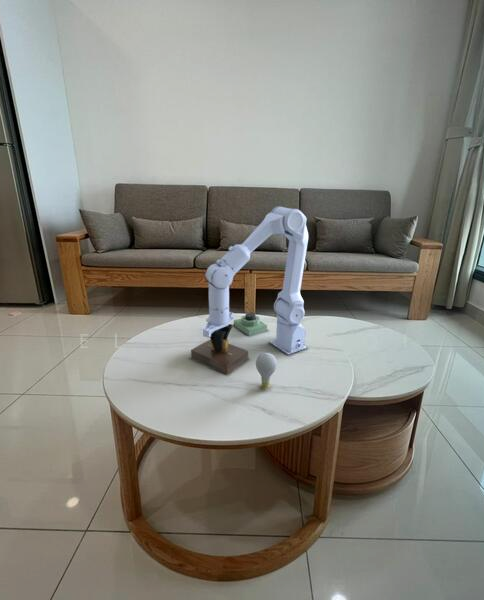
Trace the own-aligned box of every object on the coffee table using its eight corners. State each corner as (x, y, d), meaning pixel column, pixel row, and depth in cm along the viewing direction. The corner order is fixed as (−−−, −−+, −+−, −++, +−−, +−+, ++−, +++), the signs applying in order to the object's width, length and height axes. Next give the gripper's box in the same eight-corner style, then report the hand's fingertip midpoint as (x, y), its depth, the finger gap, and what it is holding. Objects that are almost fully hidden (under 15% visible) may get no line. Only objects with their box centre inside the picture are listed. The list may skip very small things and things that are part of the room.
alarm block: (267, 330, 116) (267, 320, 115) (248, 336, 112) (249, 325, 111) (251, 321, 124) (251, 311, 123) (233, 325, 120) (233, 315, 118)
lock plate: (248, 359, 97) (248, 350, 96) (227, 374, 90) (227, 364, 88) (213, 345, 105) (213, 337, 104) (191, 358, 97) (190, 349, 96)
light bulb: (250, 388, 84) (251, 354, 80) (263, 379, 88) (265, 346, 84) (266, 396, 81) (268, 362, 77) (279, 387, 85) (282, 354, 81)
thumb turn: (228, 350, 96) (228, 339, 94) (225, 353, 94) (225, 341, 93) (213, 347, 98) (213, 335, 96) (211, 349, 96) (210, 338, 95)
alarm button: (257, 319, 116) (257, 315, 116) (249, 321, 114) (249, 317, 114) (251, 316, 119) (251, 312, 118) (243, 318, 117) (243, 314, 116)
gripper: (219, 296, 99) (219, 336, 104) (192, 312, 86) (194, 356, 91) (240, 300, 96) (239, 340, 101) (215, 317, 84) (216, 362, 88)
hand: (219, 348), depth 96 cm, fingers closed on thumb turn, 2 cm apart
